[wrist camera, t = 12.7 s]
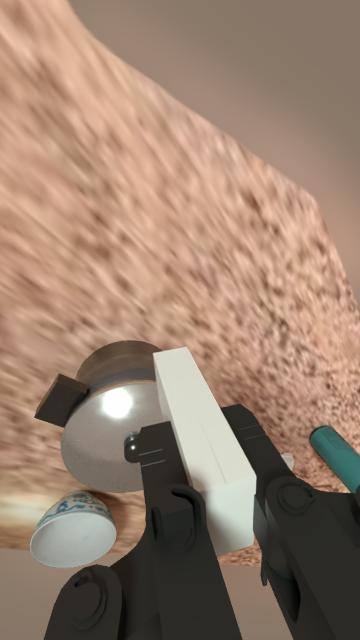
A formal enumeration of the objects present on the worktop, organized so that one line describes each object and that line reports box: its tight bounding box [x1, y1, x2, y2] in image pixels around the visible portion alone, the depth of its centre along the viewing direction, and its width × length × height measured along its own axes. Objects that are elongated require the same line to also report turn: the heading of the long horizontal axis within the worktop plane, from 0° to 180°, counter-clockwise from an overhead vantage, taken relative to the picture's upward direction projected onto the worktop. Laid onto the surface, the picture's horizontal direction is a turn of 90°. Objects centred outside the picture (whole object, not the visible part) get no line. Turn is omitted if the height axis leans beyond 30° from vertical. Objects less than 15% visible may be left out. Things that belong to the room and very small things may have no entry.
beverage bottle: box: [310, 427, 360, 493], centre depth 61 cm, size 6×7×20 cm
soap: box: [280, 453, 294, 471], centre depth 70 cm, size 9×7×3 cm
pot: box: [34, 340, 162, 428], centre depth 49 cm, size 32×18×12 cm, turn 55°
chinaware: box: [30, 491, 117, 568], centre depth 58 cm, size 15×15×8 cm
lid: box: [61, 380, 164, 493], centre depth 40 cm, size 28×19×9 cm, turn 54°
